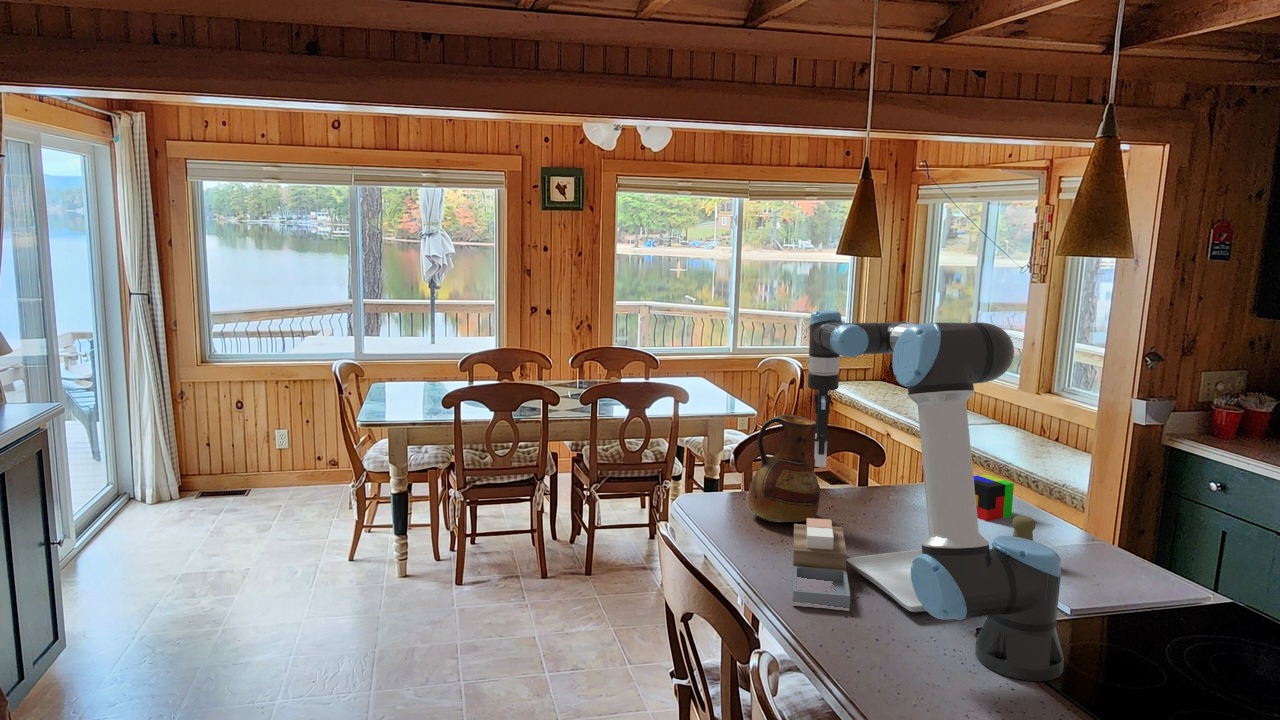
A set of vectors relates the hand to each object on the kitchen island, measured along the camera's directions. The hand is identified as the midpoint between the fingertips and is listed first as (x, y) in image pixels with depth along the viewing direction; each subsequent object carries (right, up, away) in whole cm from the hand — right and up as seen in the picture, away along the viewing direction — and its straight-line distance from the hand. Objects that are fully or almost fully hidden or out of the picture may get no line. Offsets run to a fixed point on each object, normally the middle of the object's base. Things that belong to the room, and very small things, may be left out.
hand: (820, 462), depth 205 cm
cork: (+50, -24, -3) cm, 55 cm away
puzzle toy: (+55, -19, +31) cm, 66 cm away
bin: (-5, -27, -24) cm, 36 cm away
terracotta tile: (-2, -17, -6) cm, 18 cm away
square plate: (+20, -27, -19) cm, 39 cm away
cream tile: (-3, -18, -12) cm, 22 cm away
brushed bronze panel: (-2, -24, -7) cm, 25 cm away
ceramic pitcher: (-5, -20, +26) cm, 33 cm away
